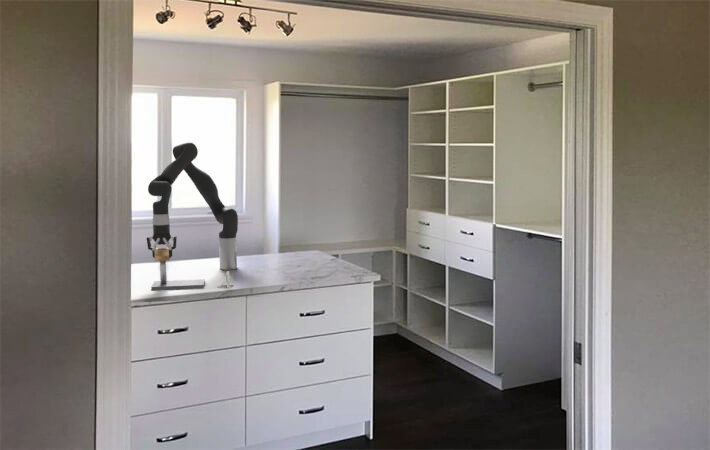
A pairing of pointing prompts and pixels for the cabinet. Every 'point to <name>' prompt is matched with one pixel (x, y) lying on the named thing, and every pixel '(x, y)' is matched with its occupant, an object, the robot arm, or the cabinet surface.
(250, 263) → the cabinet surface
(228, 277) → the stand
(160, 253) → the oak bead
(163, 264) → the steel needle
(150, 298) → the cabinet surface
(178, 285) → the lacing board
